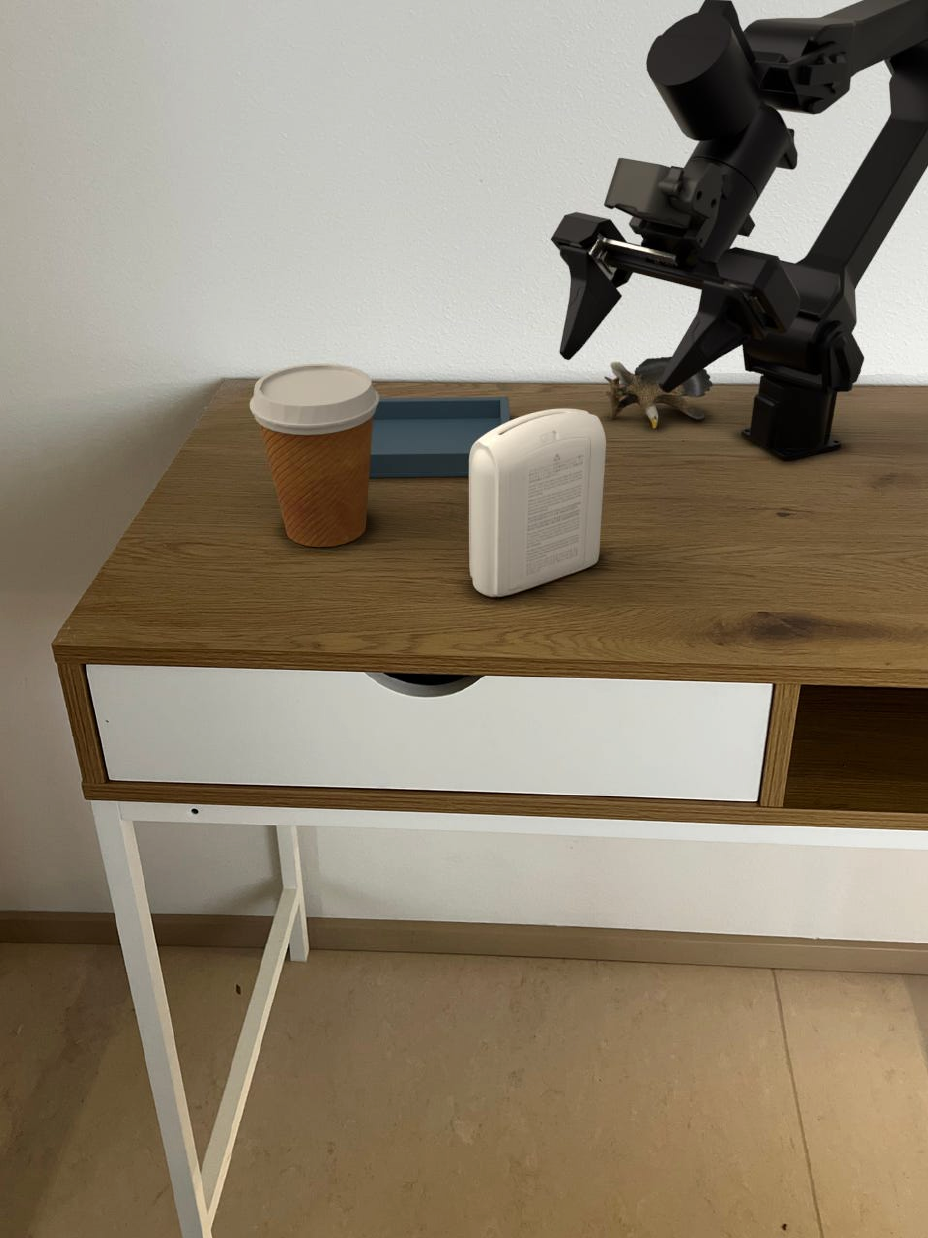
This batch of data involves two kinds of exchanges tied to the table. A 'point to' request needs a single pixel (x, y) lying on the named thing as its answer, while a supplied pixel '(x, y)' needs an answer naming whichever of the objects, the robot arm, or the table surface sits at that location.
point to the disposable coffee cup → (318, 448)
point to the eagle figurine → (654, 389)
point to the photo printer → (535, 500)
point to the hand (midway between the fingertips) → (611, 372)
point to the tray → (431, 434)
